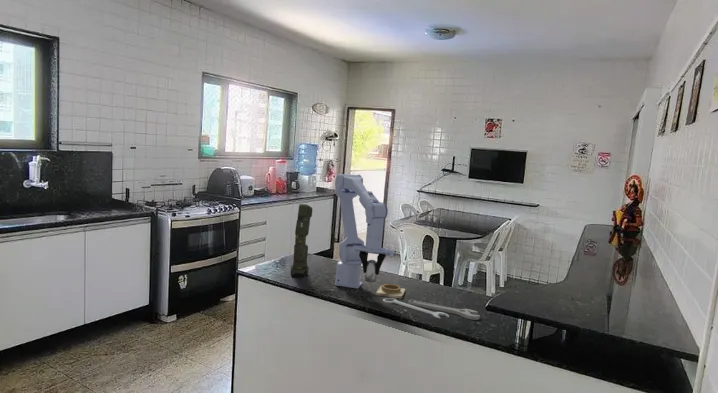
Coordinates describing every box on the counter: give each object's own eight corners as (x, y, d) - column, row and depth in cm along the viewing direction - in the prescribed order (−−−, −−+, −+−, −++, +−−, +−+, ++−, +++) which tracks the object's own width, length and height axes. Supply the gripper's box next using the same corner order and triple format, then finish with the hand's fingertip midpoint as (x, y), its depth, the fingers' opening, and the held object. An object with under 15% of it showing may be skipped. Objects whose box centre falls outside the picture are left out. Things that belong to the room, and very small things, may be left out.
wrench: (444, 323, 150) (451, 318, 155) (445, 318, 150) (451, 314, 154) (379, 302, 164) (387, 299, 168) (380, 298, 164) (387, 294, 168)
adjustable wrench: (406, 305, 163) (407, 300, 163) (413, 300, 169) (413, 296, 169) (476, 322, 152) (477, 316, 152) (481, 316, 158) (481, 311, 157)
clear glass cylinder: (363, 281, 165) (365, 260, 164) (366, 278, 168) (367, 258, 168) (374, 282, 164) (376, 262, 163) (376, 280, 168) (378, 259, 167)
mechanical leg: (305, 278, 180) (312, 203, 184) (287, 277, 180) (294, 201, 185) (309, 277, 194) (315, 207, 198) (292, 276, 194) (299, 205, 198)
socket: (375, 295, 170) (376, 288, 170) (380, 287, 180) (381, 281, 179) (401, 298, 168) (402, 292, 168) (404, 291, 178) (405, 285, 177)
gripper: (351, 235, 162) (349, 273, 163) (392, 240, 159) (389, 278, 160) (356, 232, 169) (353, 268, 170) (395, 237, 166) (392, 273, 167)
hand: (371, 273), depth 166 cm, fingers closed on clear glass cylinder, 4 cm apart
